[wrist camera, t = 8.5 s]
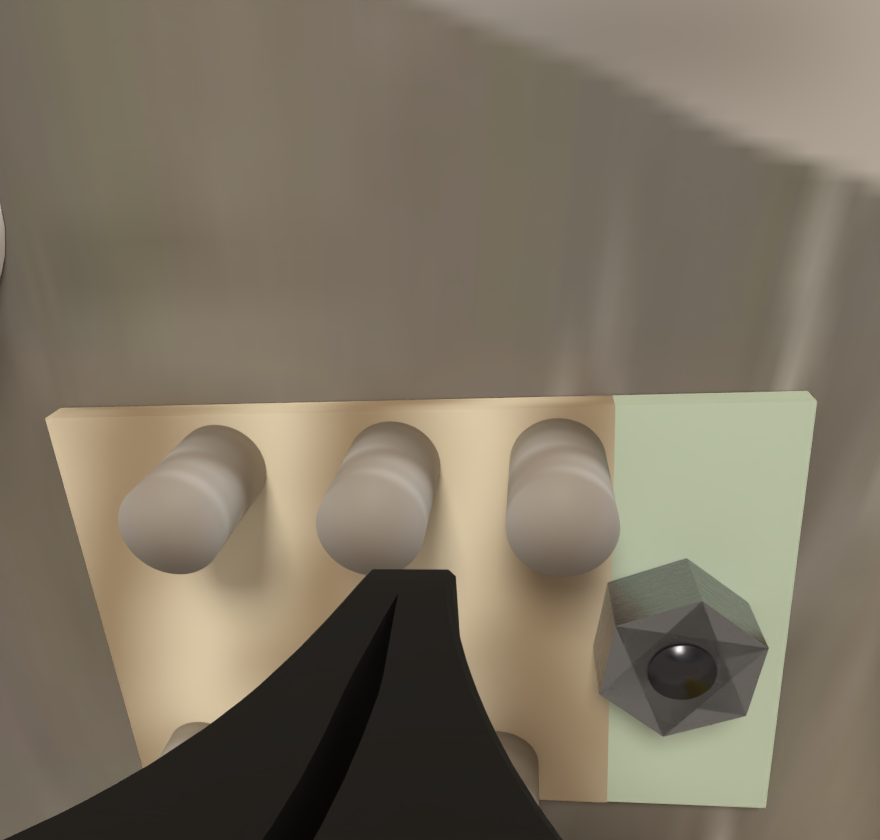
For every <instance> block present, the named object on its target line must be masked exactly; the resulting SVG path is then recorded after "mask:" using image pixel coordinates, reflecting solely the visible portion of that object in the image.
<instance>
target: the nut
mask: <svg viewBox="0 0 880 840" xmlns="http://www.w3.org/2000/svg"><path fill="white" fill-rule="evenodd" d="M593 650H594V658H595V665H596V673H597V680H598V688H599V694H600V695H601V696H603V697H604V698H606V699H607V700H609V701H610V702H612V703H613V704H615V705H616V706H618V707H619V708H621V709H622V710H624V711H625V712H627V713H628V714H630V715H631V716H633V717H634V718H636V719H637V720H639V721H640V722H642V723H643V724H645V725H646V726H648V727H649V728H651V729H652V730H654V731H655V732H657V733H658V734H660V735H661V736H663V737H665V736H669V735H673V734H677V733H681V732H685V731H689V730H693V729H697V728H701V727H704V726H708V725H712V724H716V723H720V722H724V721H728V720H732V719H736V718H740V717H744V716H746V715H747V712H748V709H749V706H750V703H751V700H752V697H753V694H754V691H755V688H756V685H757V682H758V679H759V676H760V673H761V670H762V667H763V665H764V662H765V659H766V656H767V653H768V650H769V647H768V645H767V643H766V641H765V638H764V636H763V634H762V632H761V630H760V627H759V625H758V623H757V621H756V618H755V616H754V614H753V612H752V610H751V607H750V605H749V603H748V602H747V601H746V600H744V599H743V598H741V597H740V596H739V595H737V594H736V593H735V592H733V591H732V590H730V589H729V588H728V587H726V586H725V585H723V584H722V583H721V582H719V581H718V580H716V579H715V578H714V577H712V576H711V575H709V574H708V573H707V572H705V571H704V570H703V569H701V568H700V567H698V566H697V565H696V564H694V563H693V562H691V561H690V560H689V559H687V558H686V559H683V560H679V561H676V562H673V563H669V564H666V565H663V566H660V567H656V568H653V569H650V570H646V571H643V572H640V573H637V574H633V575H630V576H627V577H624V578H620V579H617V580H614V581H610V582H608V583H607V587H606V592H605V596H604V601H603V605H602V609H601V614H600V618H599V623H598V627H597V632H596V636H595V640H594V645H593Z"/></svg>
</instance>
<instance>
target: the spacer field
mask: <svg viewBox="0 0 880 840" xmlns="http://www.w3.org/2000/svg"><path fill="white" fill-rule="evenodd" d="M45 419H46V423H47V426H48V430H49V434H50V437H51V441H52V444H53V448H54V452H55V455H56V459H57V462H58V466H59V469H60V473H61V477H62V480H63V484H64V487H65V491H66V494H67V498H68V502H69V505H70V509H71V512H72V516H73V519H74V523H75V527H76V530H77V534H78V537H79V541H80V544H81V548H82V552H83V555H84V559H85V562H86V566H87V570H88V573H89V577H90V580H91V584H92V587H93V591H94V595H95V598H96V602H97V605H98V609H99V612H100V616H101V620H102V623H103V627H104V630H105V634H106V637H107V641H108V645H109V648H110V652H111V655H112V659H113V663H114V666H115V670H116V673H117V677H118V680H119V684H120V688H121V691H122V695H123V698H124V702H125V705H126V709H127V713H128V716H129V720H130V723H131V727H132V730H133V734H134V738H135V741H136V745H137V748H138V752H139V755H140V759H141V763H142V766H143V768H144V767H146V766H148V765H149V764H151V763H153V762H154V761H156V760H157V759H159V758H160V757H162V756H163V755H165V754H166V753H168V752H169V751H171V750H172V749H174V748H175V747H177V746H178V745H180V744H181V743H183V742H184V741H186V740H187V739H189V738H190V737H192V736H193V735H195V734H196V733H198V732H199V731H201V730H202V729H204V728H205V727H207V726H208V725H209V724H211V723H212V722H214V721H215V720H216V719H218V718H219V717H220V716H221V715H223V714H224V713H225V712H227V711H228V710H229V709H231V708H232V707H233V706H234V705H236V704H237V703H238V702H240V701H241V700H242V699H243V698H245V697H246V696H247V695H248V694H249V693H251V692H252V691H253V690H254V689H256V688H257V687H258V686H259V685H260V684H261V683H262V682H263V681H265V680H266V679H267V678H268V677H269V676H270V675H271V674H272V673H273V672H274V671H275V670H276V669H277V668H278V667H280V666H281V665H282V664H283V663H284V662H285V661H286V660H287V659H288V658H289V657H290V656H291V655H292V654H293V653H294V652H295V651H296V650H297V649H298V648H299V647H300V646H302V644H303V643H304V642H305V641H306V640H307V639H308V638H309V637H310V636H311V635H312V634H313V633H314V632H315V631H316V630H317V629H318V628H319V627H320V626H321V625H322V624H323V623H324V622H325V621H326V619H327V618H328V617H329V616H330V615H331V614H332V613H333V612H334V611H335V610H336V609H337V607H338V606H339V605H340V604H341V603H342V602H343V601H344V600H345V599H346V597H347V596H348V595H349V594H350V593H351V592H352V591H353V590H354V588H355V587H356V586H357V585H358V584H359V583H360V582H361V581H362V579H363V578H364V577H365V576H366V575H367V574H368V573H369V572H370V571H371V570H372V569H447V570H450V571H451V572H452V573H453V574H454V575H455V576H456V586H457V600H458V615H459V629H460V638H461V642H462V646H463V649H464V653H465V657H466V660H467V663H468V666H469V669H470V672H471V675H472V677H473V680H474V683H475V685H476V688H477V691H478V693H479V696H480V698H481V701H482V703H483V706H484V708H485V710H486V712H487V715H488V717H489V719H490V721H491V723H492V725H493V727H494V729H495V732H496V734H497V736H498V738H499V740H500V742H501V743H502V745H503V747H504V749H505V751H506V753H507V755H508V757H509V759H510V760H511V762H512V764H513V766H514V767H515V769H516V771H517V772H518V774H519V775H520V777H521V779H522V780H523V782H524V783H525V785H526V787H527V788H528V790H529V791H530V793H531V795H532V796H533V798H534V800H535V801H536V803H537V804H538V806H539V800H557V801H581V802H604V803H607V781H608V733H609V700H607V699H606V698H604V697H603V696H601V695H600V694H599V688H598V680H597V673H596V665H595V658H594V650H593V645H594V640H595V636H596V632H597V627H598V623H599V618H600V614H601V609H602V605H603V601H604V596H605V592H606V587H607V583H608V582H610V581H612V552H613V551H614V549H615V547H616V545H617V543H618V539H619V536H620V520H619V515H618V510H617V505H616V501H615V496H614V450H615V403H614V399H613V396H612V395H611V396H567V397H523V398H479V399H436V400H392V401H348V402H304V403H260V404H217V405H173V406H129V407H85V408H60V409H59V410H57V411H56V412H54V413H53V414H51V415H50V416H48V417H47V418H45Z"/></svg>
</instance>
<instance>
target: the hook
mask: <svg viewBox="0 0 880 840" xmlns="http://www.w3.org/2000/svg"><path fill="white" fill-rule="evenodd" d="M4 258H5V225H4V220H3V214H2V209H1V203H0V277H1V273H2V268H3V263H4Z"/></svg>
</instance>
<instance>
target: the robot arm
mask: <svg viewBox="0 0 880 840" xmlns="http://www.w3.org/2000/svg"><path fill="white" fill-rule="evenodd" d="M4 840H562V839H561V837H560V836H559V834H558V833H557V832H556V830H555V829H554V827H553V826H552V825H551V823H550V822H549V820H548V819H547V818H546V816H545V815H544V813H543V812H542V811H541V809H540V808H539V806H538V804H537V803H536V801H535V800H534V798H533V796H532V795H531V793H530V791H529V790H528V788H527V787H526V785H525V783H524V782H523V780H522V779H521V777H520V775H519V774H518V772H517V771H516V769H515V767H514V766H513V764H512V762H511V760H510V759H509V757H508V755H507V753H506V751H505V749H504V747H503V745H502V743H501V742H500V740H499V738H498V736H497V734H496V732H495V729H494V727H493V725H492V723H491V721H490V719H489V717H488V715H487V712H486V710H485V708H484V706H483V703H482V701H481V698H480V696H479V693H478V691H477V688H476V685H475V683H474V680H473V677H472V675H471V672H470V669H469V666H468V663H467V660H466V657H465V653H464V649H463V646H462V642H461V638H460V629H459V615H458V600H457V586H456V576H455V575H454V574H453V573H452V572H451V571H450V570H447V569H372V570H371V571H370V572H369V573H368V574H367V575H366V576H365V577H364V578H363V579H362V581H361V582H360V583H359V584H358V585H357V586H356V587H355V588H354V590H353V591H352V592H351V593H350V594H349V595H348V596H347V597H346V599H345V600H344V601H343V602H342V603H341V604H340V605H339V606H338V607H337V609H336V610H335V611H334V612H333V613H332V614H331V615H330V616H329V617H328V618H327V619H326V621H325V622H324V623H323V624H322V625H321V626H320V627H319V628H318V629H317V630H316V631H315V632H314V633H313V634H312V635H311V636H310V637H309V638H308V639H307V640H306V641H305V642H304V643H303V644H302V646H300V647H299V648H298V649H297V650H296V651H295V652H294V653H293V654H292V655H291V656H290V657H289V658H288V659H287V660H286V661H285V662H284V663H283V664H282V665H281V666H280V667H278V668H277V669H276V670H275V671H274V672H273V673H272V674H271V675H270V676H269V677H268V678H267V679H266V680H265V681H263V682H262V683H261V684H260V685H259V686H258V687H257V688H256V689H254V690H253V691H252V692H251V693H249V694H248V695H247V696H246V697H245V698H243V699H242V700H241V701H240V702H238V703H237V704H236V705H234V706H233V707H232V708H231V709H229V710H228V711H227V712H225V713H224V714H223V715H221V716H220V717H219V718H218V719H216V720H215V721H214V722H212V723H211V724H209V725H208V726H207V727H205V728H204V729H202V730H201V731H199V732H198V733H196V734H195V735H193V736H192V737H190V738H189V739H187V740H186V741H184V742H183V743H181V744H180V745H178V746H177V747H175V748H174V749H172V750H171V751H169V752H168V753H166V754H165V755H163V756H162V757H160V758H159V759H157V760H156V761H154V762H153V763H151V764H149V765H148V766H146V767H144V768H143V769H141V770H139V771H138V772H136V773H134V774H132V775H131V776H129V777H127V778H126V779H124V780H122V781H120V782H119V783H117V784H115V785H113V786H112V787H110V788H108V789H106V790H104V791H102V792H100V793H99V794H97V795H95V796H93V797H91V798H89V799H88V800H86V801H84V802H82V803H80V804H78V805H76V806H74V807H72V808H70V809H68V810H66V811H64V812H62V813H60V814H58V815H56V816H54V817H52V818H50V819H47V820H45V821H43V822H41V823H39V824H37V825H34V826H32V827H30V828H28V829H26V830H24V831H22V832H19V833H17V834H15V835H13V836H11V837H9V838H7V839H4Z"/></svg>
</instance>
